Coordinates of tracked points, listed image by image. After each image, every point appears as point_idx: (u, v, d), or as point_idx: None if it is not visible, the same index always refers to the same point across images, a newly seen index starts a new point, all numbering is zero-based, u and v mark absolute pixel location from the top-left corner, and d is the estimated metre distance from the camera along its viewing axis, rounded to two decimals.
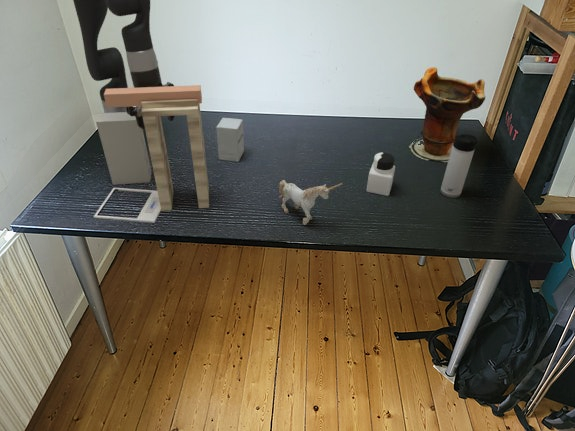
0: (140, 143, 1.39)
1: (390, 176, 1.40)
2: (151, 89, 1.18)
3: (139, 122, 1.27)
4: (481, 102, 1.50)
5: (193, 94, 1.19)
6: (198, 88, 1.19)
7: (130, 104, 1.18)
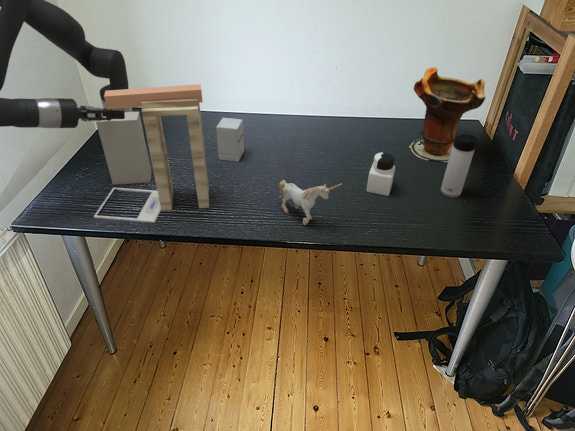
0: (140, 143, 1.39)
1: (390, 176, 1.40)
2: (151, 90, 1.18)
3: None
4: (481, 102, 1.50)
5: (194, 93, 1.19)
6: (198, 87, 1.20)
7: (131, 105, 1.17)
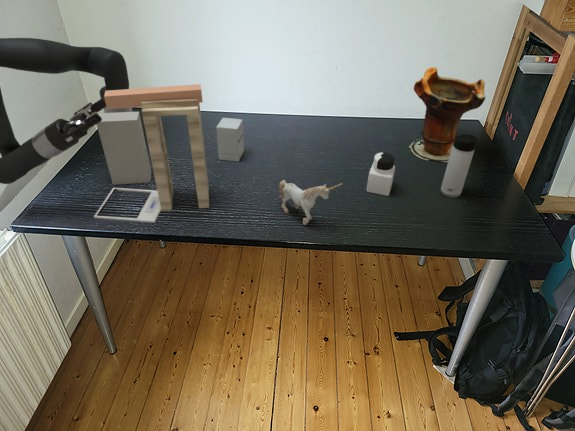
0: (140, 143, 1.39)
1: (390, 176, 1.40)
2: (151, 90, 1.18)
3: None
4: (481, 102, 1.50)
5: (194, 93, 1.19)
6: (198, 87, 1.20)
7: (131, 105, 1.17)
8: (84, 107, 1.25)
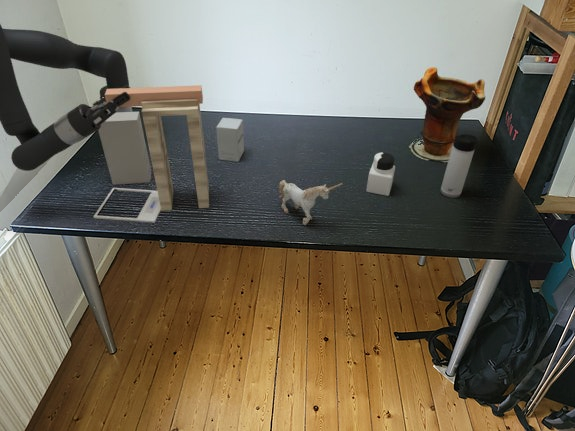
0: (140, 143, 1.39)
1: (390, 176, 1.40)
2: (152, 89, 1.18)
3: None
4: (481, 102, 1.50)
5: (194, 94, 1.18)
6: (199, 88, 1.19)
7: (131, 104, 1.18)
8: None
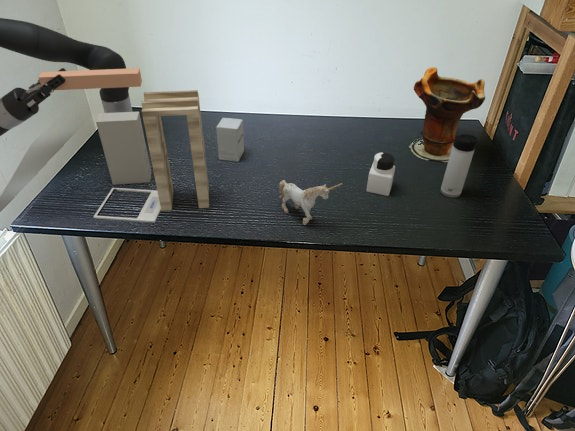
0: (140, 143, 1.39)
1: (390, 176, 1.40)
2: (88, 72, 1.17)
3: None
4: (481, 102, 1.50)
5: (130, 77, 1.17)
6: (136, 71, 1.18)
7: (67, 87, 1.16)
8: None
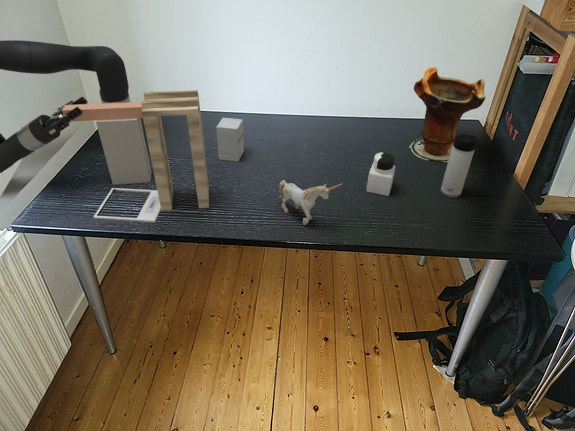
0: (140, 143, 1.39)
1: (390, 176, 1.40)
2: (105, 105, 1.33)
3: None
4: (481, 102, 1.50)
5: None
6: None
7: (86, 119, 1.33)
8: (66, 104, 1.36)
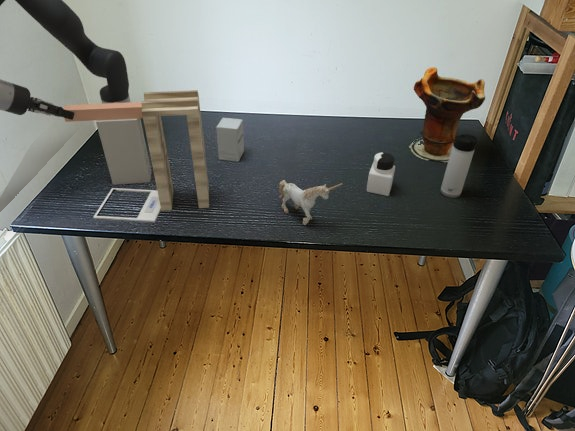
0: (140, 143, 1.39)
1: (390, 176, 1.40)
2: (105, 105, 1.33)
3: None
4: (481, 102, 1.50)
5: None
6: None
7: (86, 119, 1.33)
8: None
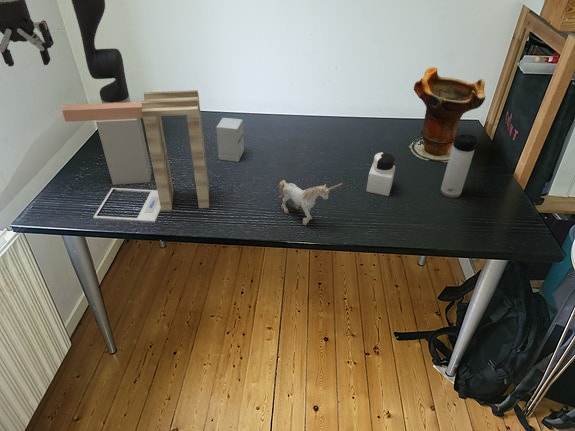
0: (140, 143, 1.39)
1: (390, 176, 1.40)
2: (105, 105, 1.33)
3: (4, 58, 1.15)
4: (481, 102, 1.50)
5: None
6: None
7: (86, 119, 1.33)
8: None
